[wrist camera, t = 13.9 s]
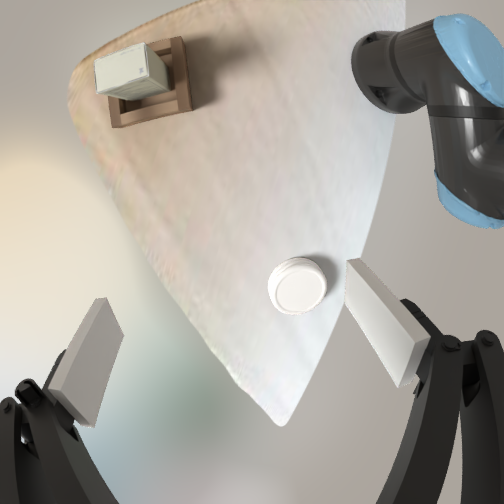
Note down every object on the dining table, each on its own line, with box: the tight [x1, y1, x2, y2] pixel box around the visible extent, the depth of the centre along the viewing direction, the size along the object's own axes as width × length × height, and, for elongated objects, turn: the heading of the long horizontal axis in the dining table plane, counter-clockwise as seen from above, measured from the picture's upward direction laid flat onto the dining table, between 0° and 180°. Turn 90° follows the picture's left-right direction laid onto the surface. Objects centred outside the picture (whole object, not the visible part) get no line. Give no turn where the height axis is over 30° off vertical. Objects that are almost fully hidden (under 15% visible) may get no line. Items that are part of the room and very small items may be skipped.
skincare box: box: [94, 43, 171, 101], centre depth 26 cm, size 6×4×12 cm
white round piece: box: [268, 258, 327, 315], centre depth 47 cm, size 10×10×4 cm
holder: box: [108, 36, 193, 128], centre depth 30 cm, size 11×11×4 cm
